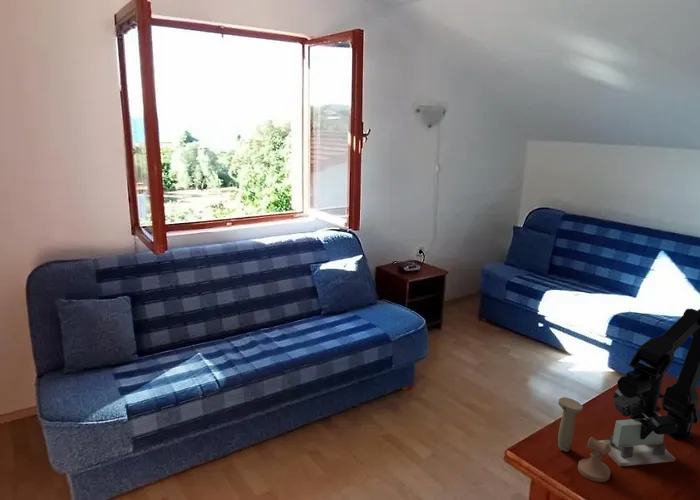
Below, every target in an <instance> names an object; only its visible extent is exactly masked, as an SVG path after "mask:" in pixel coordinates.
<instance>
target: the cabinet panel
mask: <svg viewBox="0 0 700 500" xmlns="http://www.w3.org/2000/svg"><path fill="white" fill-rule="evenodd" d="M613 435H614V434H613ZM613 435H612V434H611V435H610V436H609V439H602V440H599V441H600V442H603V443H608V444H609V446H610V448H611V450H610V452H609V453H608V454H607V455H608V456H610V458H611V459H612V460H613V461H614V462H615V463H616V464H617V465H618V466H619V467H628V466H638V465H649V464H650V465H651V464H658V463H659V464H661V463H670V462H671V463H672V462H675V461H676V457H675V456H673V455H672V454H671V453H670V452H669V451H668V450H667V449H666V448H667V445H666V444H665V443H659V444H648V445H637V446H626V447H617V446H616V445H615V444H614V443H613V442H612V440H613Z"/></svg>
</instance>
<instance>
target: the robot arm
mask: <svg viewBox="0 0 700 500" xmlns="http://www.w3.org/2000/svg"><path fill="white" fill-rule="evenodd" d="M691 336H692V338H691V341H690V344H689V347H688V350H687V353H686V355H685V359H684V361H683V364H682V366H681V370H680V372H679V374H678V378H677V381H676V382H675V383H674V384H673V385H671V386H668V387H666V390H665V392H664V394H663V393H662V392H661V388H662V385H663V380H664V375H665V373H667V372H668V371H669V368H671V365H673V361H674V360H675V352H676V351H677V350H678V349H679V348H680V347H681V345H683V344H684V343H685V342H686V341H687V340H688V339H689V338H690V337H691ZM641 362H642V363H641ZM643 363H644V364H643ZM628 366H629V367H630V368H633V370H630V371H627V372H626V375H623V376H621V377H619V379H618V380H617V383H616V385H617V389H616V390H615V391H614V392H613V393H614V395H613V398H614V399H613V401H614V405H615V410H616V411H618V412H619V413H620V414H621V415H622V416H623V417H630V419H641V418H645V419H641V420H639V422H640V423H641V424H642V425H641V433H640V439H645V438H646V437H647V436H648V435H649V434H650V433H651V432H652V431H653V432H654V433H656V434H659V435H660V434H664V435H669V436H670V437H671V438H673V439H675V440H683V439H694V437H695V436H694V434H692V433H691V430H692V425H693V424H698V422H699V420H700V409H699V407H698V403H699V396H698V393H697V390H696V388H697V385H698V382H699V379H700V308H698V309H694V308H686V309H685V310H684V312H683V314H682V316H681V317H680V318H679V319H678V320H677V321H675V322H674V323H673V324H672V325H671V326H670V327H669V328H668V329H667V330H666V331H665V332H664V333H663V334H661V335H660V336H657V337H653V338H650V339H649V340H647V341H645V342H644V343H642V345H640V346H638V349H637V351H636V353H635V354H634V356H633V358H632V359H631V361H630V363H629V364H628ZM659 399H661V404H662V410H663V411H665V412H667V414H666V415H661V414H660V413H658V412H660V411H661V406H659V401H660V400H659ZM656 412H657V413H656Z"/></svg>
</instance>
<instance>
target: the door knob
mask: <svg viewBox="0 0 700 500" xmlns="http://www.w3.org/2000/svg"><path fill="white" fill-rule="evenodd" d="M587 448H588V449H593V450H592V451H591V452H590V453H589V455H590V458H589V457H586V458H581V459H580V460H578V464H577V470H578V472H579V473H580V475H581V476H582V477H584V478H586V479H588V480H590V481H593V482H597V483H602V482H603V483H605V482H607V481H608V480H610V478H611V477H610V476H611V474H612V473H611V469H610V468H609V467H608V465H607V464H606V463H604V462H602V460H603V458H604V455H605V456H606V455H608V453H609V452H610V450H611V448H610V446H609V444H608V443H603V442H600V440H598V439H596V438H595V437H593V436H591V437H589V439H588V441H587Z"/></svg>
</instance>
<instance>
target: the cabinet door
mask: <svg viewBox="0 0 700 500" xmlns="http://www.w3.org/2000/svg"><path fill="white" fill-rule="evenodd" d="M645 418H646V417H645ZM645 418H641V419H645ZM641 419H631V418H630V419H618V420H616V421H615V425H614V430H613V440H612V442H613V443H614V444H615V445H616V446H617V447H626V446H637V445H648V444H664V443H663V442H664V438H665V434H660V435H659V434H656V433H654V432H653V431H652V432H651V433H650V434H649V435H648V436H647V437H646V438H645V439H640V433H641V425H642V424H641V423H640V422H639V420H641Z"/></svg>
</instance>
